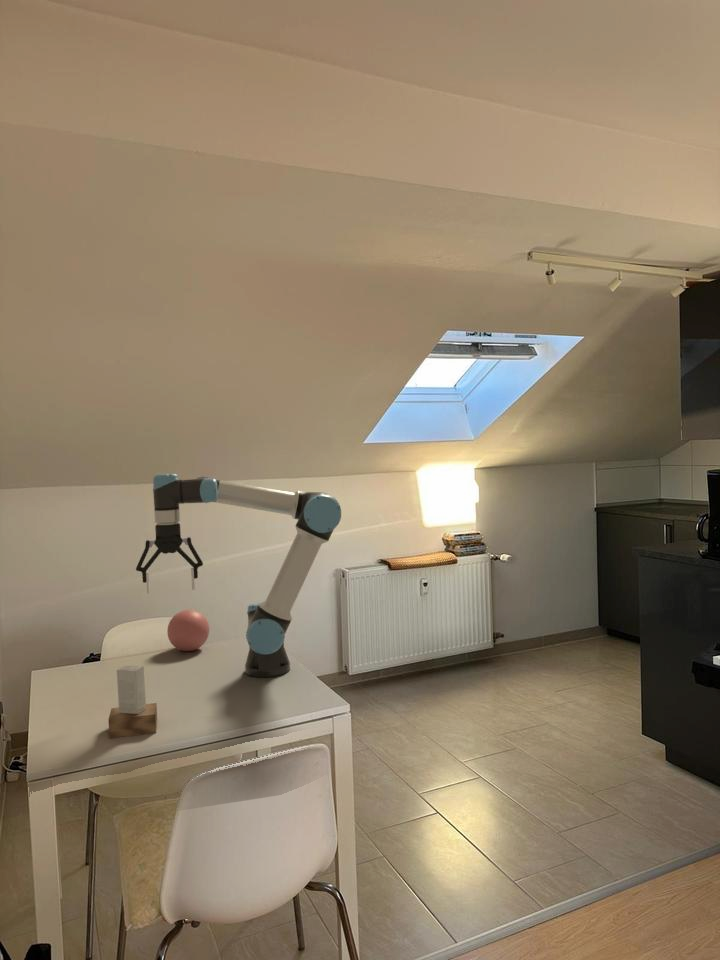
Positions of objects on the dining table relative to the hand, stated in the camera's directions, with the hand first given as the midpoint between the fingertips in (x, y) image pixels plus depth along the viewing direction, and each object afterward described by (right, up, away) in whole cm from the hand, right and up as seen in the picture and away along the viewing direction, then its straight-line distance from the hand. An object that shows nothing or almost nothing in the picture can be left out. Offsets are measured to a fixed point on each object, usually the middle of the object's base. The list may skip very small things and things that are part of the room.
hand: (171, 590), depth 227 cm
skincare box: (-3, -29, -29) cm, 41 cm away
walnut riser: (-3, -33, -29) cm, 44 cm away
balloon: (-5, -30, +49) cm, 58 cm away
